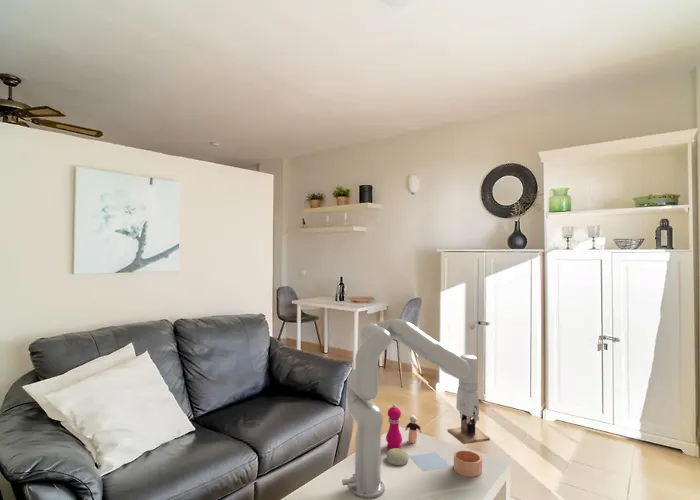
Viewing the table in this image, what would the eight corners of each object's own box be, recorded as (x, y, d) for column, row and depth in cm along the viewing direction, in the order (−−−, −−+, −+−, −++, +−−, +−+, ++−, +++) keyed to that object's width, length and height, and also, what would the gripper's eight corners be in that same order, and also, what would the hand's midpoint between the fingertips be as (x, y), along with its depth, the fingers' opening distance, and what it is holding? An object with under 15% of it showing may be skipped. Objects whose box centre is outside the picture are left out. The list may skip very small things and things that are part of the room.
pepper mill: (389, 453, 176) (389, 407, 177) (383, 446, 183) (384, 402, 184) (404, 451, 178) (404, 406, 179) (398, 444, 185) (398, 400, 186)
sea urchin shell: (405, 465, 163) (392, 447, 166) (392, 475, 165) (380, 458, 168) (413, 455, 171) (401, 439, 174) (401, 465, 173) (389, 449, 176)
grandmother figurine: (404, 444, 186) (405, 416, 186) (404, 440, 189) (405, 413, 190) (421, 445, 184) (421, 417, 185) (421, 441, 188) (421, 414, 189)
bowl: (463, 478, 156) (463, 464, 157) (448, 465, 167) (448, 451, 167) (487, 475, 160) (487, 461, 160) (471, 461, 170) (471, 448, 170)
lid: (463, 444, 156) (463, 428, 156) (447, 431, 168) (447, 417, 168) (489, 440, 160) (489, 425, 160) (472, 428, 171) (472, 414, 171)
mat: (422, 471, 161) (422, 471, 161) (408, 456, 174) (408, 455, 174) (451, 467, 165) (451, 466, 165) (435, 452, 178) (435, 452, 178)
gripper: (449, 380, 171) (449, 423, 171) (471, 393, 155) (471, 440, 155) (464, 379, 173) (464, 421, 173) (488, 391, 157) (488, 438, 157)
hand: (468, 430), depth 164 cm, fingers closed on lid, 4 cm apart
